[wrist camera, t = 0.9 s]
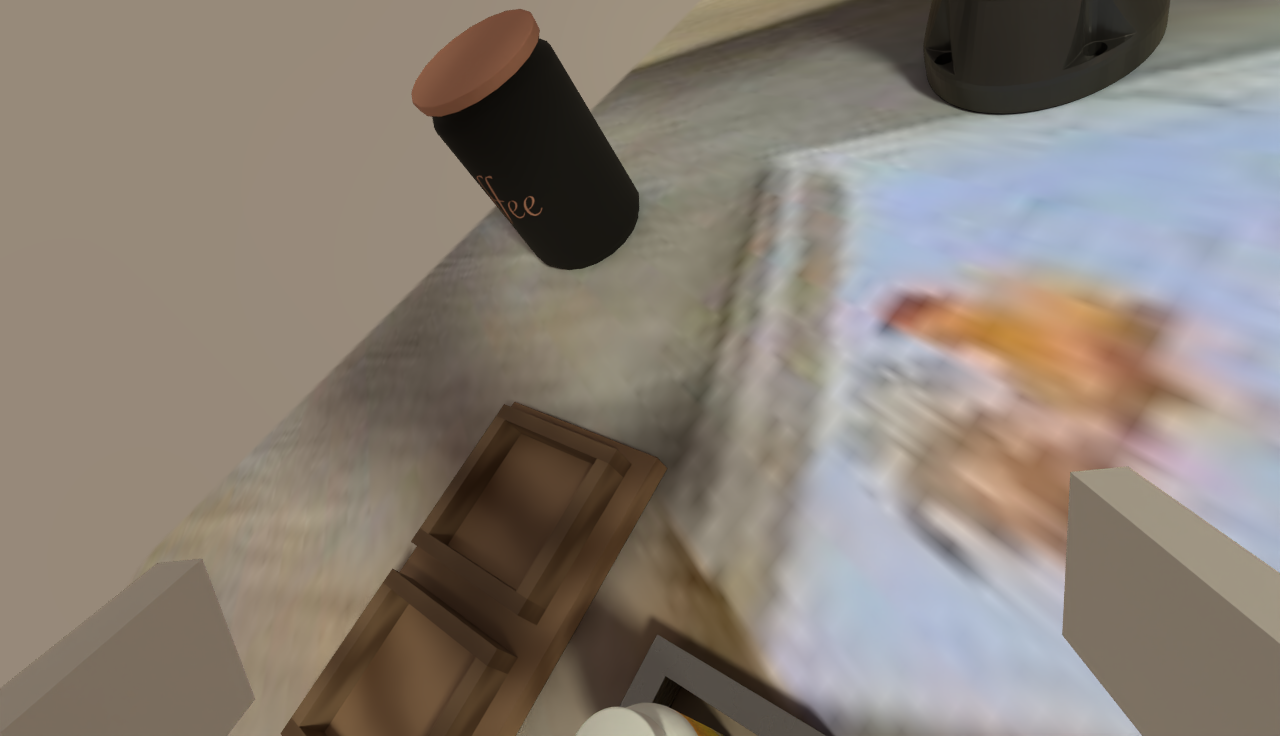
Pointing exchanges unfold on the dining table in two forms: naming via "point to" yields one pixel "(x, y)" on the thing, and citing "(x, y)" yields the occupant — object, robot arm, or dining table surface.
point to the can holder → (708, 691)
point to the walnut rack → (487, 587)
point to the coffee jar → (529, 140)
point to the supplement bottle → (643, 722)
